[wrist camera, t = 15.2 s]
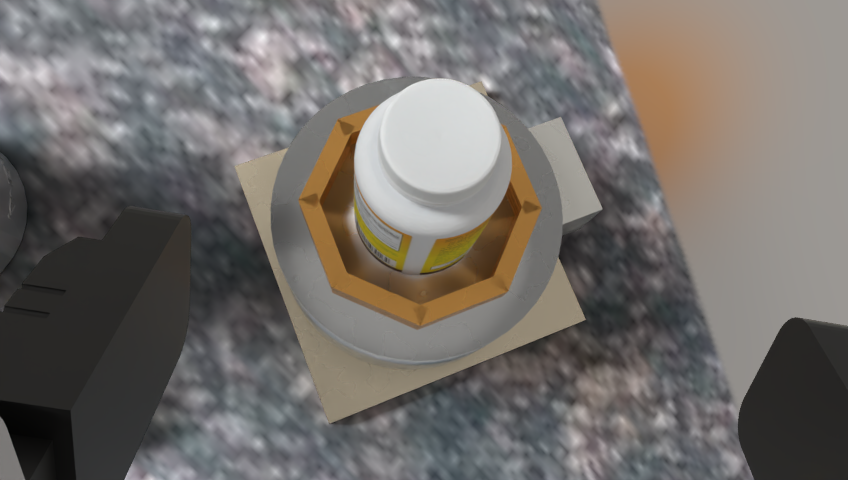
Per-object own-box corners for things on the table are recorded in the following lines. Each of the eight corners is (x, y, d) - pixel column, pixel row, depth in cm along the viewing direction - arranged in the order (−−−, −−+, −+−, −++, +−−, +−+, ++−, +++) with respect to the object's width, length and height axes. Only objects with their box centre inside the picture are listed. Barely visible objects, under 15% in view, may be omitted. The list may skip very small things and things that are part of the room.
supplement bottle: (489, 173, 36) (543, 77, 26) (464, 291, 35) (510, 237, 25) (369, 143, 36) (377, 36, 26) (339, 261, 35) (335, 195, 25)
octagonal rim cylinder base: (330, 423, 40) (323, 423, 32) (237, 173, 43) (208, 111, 34) (608, 310, 43) (670, 283, 34) (505, 80, 45) (540, 1, 37)
